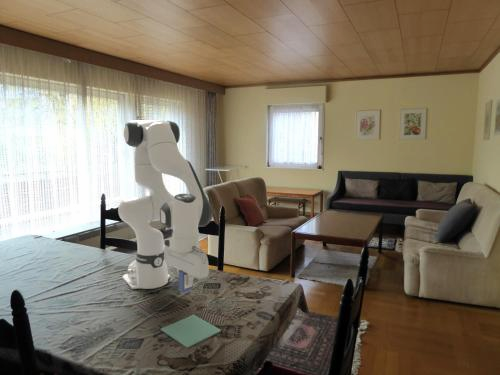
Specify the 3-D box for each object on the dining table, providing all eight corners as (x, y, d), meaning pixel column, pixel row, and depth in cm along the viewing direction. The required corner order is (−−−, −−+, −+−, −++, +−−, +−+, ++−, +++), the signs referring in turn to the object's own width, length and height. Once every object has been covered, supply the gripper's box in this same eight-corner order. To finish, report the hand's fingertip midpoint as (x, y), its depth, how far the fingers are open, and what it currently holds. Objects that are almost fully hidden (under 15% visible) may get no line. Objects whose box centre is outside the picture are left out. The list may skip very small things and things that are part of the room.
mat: (160, 329, 123) (160, 328, 122) (193, 315, 133) (193, 314, 133) (187, 348, 112) (187, 347, 112) (221, 331, 122) (221, 330, 122)
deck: (188, 287, 125) (188, 267, 124) (193, 289, 123) (193, 269, 122) (178, 290, 121) (178, 270, 120) (183, 292, 120) (182, 272, 119)
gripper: (213, 248, 115) (213, 289, 117) (175, 235, 129) (176, 272, 131) (197, 252, 111) (198, 295, 113) (160, 239, 125) (161, 277, 126)
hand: (186, 283), depth 122 cm, fingers closed on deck, 2 cm apart
